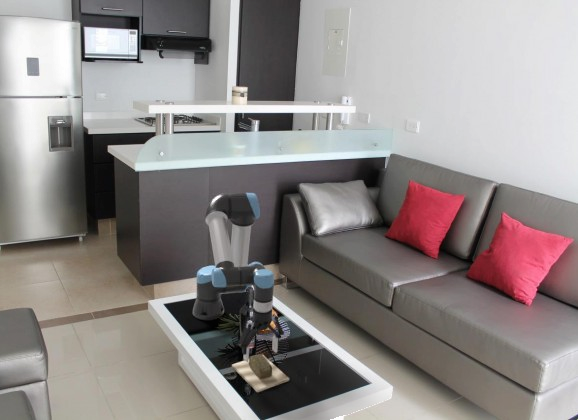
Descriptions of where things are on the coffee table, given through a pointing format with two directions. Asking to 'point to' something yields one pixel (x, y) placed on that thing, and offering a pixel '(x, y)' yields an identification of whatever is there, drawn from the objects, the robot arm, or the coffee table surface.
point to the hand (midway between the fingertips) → (260, 355)
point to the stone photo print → (254, 380)
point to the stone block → (260, 366)
